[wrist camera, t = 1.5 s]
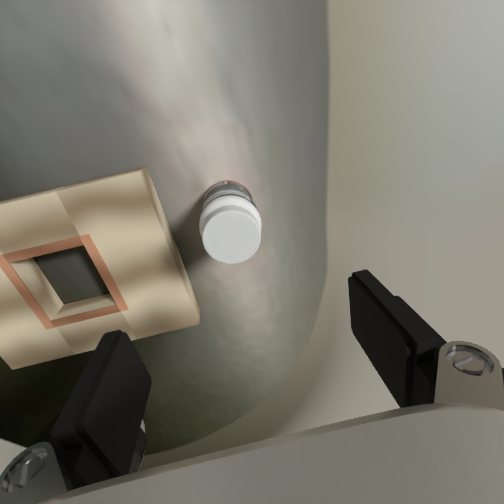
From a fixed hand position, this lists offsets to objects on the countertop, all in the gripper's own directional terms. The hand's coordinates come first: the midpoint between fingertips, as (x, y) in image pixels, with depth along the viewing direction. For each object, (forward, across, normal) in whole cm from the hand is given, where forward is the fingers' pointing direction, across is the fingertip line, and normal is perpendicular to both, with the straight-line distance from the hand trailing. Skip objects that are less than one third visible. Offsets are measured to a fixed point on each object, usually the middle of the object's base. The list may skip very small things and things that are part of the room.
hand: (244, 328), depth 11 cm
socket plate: (+17, +16, +2) cm, 23 cm away
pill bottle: (+17, 0, -1) cm, 17 cm away
